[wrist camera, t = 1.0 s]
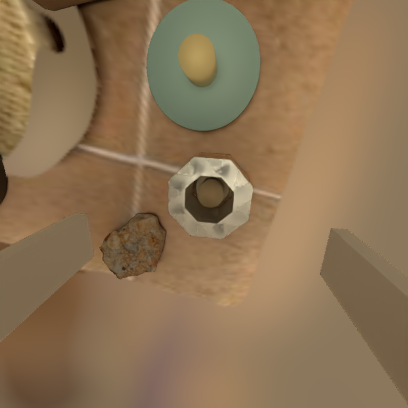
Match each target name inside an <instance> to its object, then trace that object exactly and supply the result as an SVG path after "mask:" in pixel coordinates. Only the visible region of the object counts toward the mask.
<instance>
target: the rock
mask: <svg viewBox="0 0 408 408" xmlns="http://www.w3.org/2000/svg"><path fill="white" fill-rule="evenodd" d="M164 241H165V231H164V230H163V229H162V228H161V226H160V225H159V222H158V218H157V217H156V216H154V215H152V214H136V216H135V217H134V218H132V219H130V221H129V222H128V224H127V225H125V226H123V227H122V228H121V230H120V231H119V230H115V231H113V232H112V233H110V234H109V235H108V236H107V237H106V238H105V239H104V242H103V245H102V246H101V247H100V248H101V249H100V250H101V251H102V252H103V261H104V263H105V264H106V265H107V266H108V268H109V269H110V270H111V272H113V273H114V274H116V276H117V278H119V279H122V278H125V277H128V276H134V275H136V276H137V275H140V274H142V273H144V272H152V271H153V272H155V270H156V266H157V263H158V260H159V258H160V256H161V253H162V251H163V245H164Z"/></svg>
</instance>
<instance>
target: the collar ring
mask: <svg viewBox="0 0 408 408" xmlns="http://www.w3.org/2000/svg"><path fill="white" fill-rule="evenodd" d="M199 176H212V177H221V178H222V179H223V180H224V181H225V182H226V184H227V185H228V186H229V187H230V188H231V189H232V195H231V197H230V198H229V199H228V200H226V201H225V202H224V203H222V204H221V205H220V206H216V207H211V208H210V207H206V206H204V205H202V204H201V203H200V201H199V199H198V198H197V197H196V196H195V194H194V193H193V188H194V181H195V180H196V179H197V178H198V177H199ZM252 192H253V186H252V184H251V182H250V180H249V178H248V176H247V175H246V174H245V173H244V171H243V170H242V169H241V168H240V166H239V165H238V164H237V163H236V162H235V160H234V159H233V158H232V157H231V155H230V154H215V153H202V152H201V153H199V154H198V155H196V156H195V157H194V158H192V159H191V160H190V161H189V162H188V163H187V164H186V165H185V166H184V167H183V168H181V169H180V170H179V171H178V172H177V173H176V174H175V175H174V176H173V177H172V178H171V179H169V201H168V213H169V214H170V215H171V216H172V217H173V218H174V219H175V220H176V221H177V222H178V223H179V224H180V225H181V226H182V227H183V228H184V229H185V230H186V232H187V233H188V234H189V235H190V236H199V237H208V238H217V239H223V238H224V237H226V236H227V235H229V234H230V233H231V232H233V231H234V230H236V229H237V228H238V227H240V226H241V225H243V224H244V223H245V222H247V221H248V219H249V212H250V205H251V199H252Z"/></svg>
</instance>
